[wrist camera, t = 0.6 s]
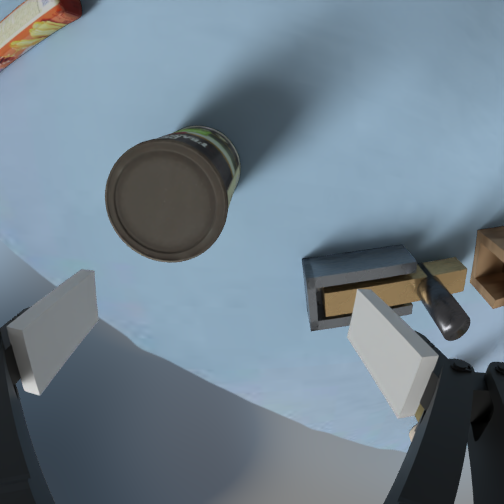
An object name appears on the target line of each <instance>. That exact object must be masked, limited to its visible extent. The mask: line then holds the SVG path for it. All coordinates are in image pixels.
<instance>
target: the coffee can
mask: <svg viewBox="0 0 504 504" xmlns="http://www.w3.org/2000/svg"><path fill="white" fill-rule="evenodd" d="M239 177H240V160H239V156H238V153H237V151H236V149H235V147H234V145H233V144H232V142H231V141H230V140H229V139H228V138H227V137H226V136H225V135H224V134H222V133H221V132H219V131H217V130H215V129H212V128H209V127H205V126H190V127H186V128H183V129H181V130H179V131H177V132H174V133H171V134H168V135H165V136H162V137H159V138H157V139H152V140H148V141H145V142H142V143H139V144H137V145H135V146H134V147H132V148H130V149H129V150H127V151H126V152H125V153H124V154H123V155H122V156H121V157H120V158H119V159H118V160H117V162H116V163H115V164H114V166H113V168H112V170H111V172H110V174H109V177H108V180H107V184H106V190H105V203H106V210H107V213H108V217H109V219H110V222H111V224H112V226H113V228H114V230H115V231H116V233H117V234H118V236H119V237H120V238H121V239H122V241H123V242H124V243H126V244H127V245H128V246H129V247H130V248H131V249H132V250H134V251H135V252H137V253H139V254H141V255H142V256H145V257H147V258H149V259H152V260H156V261H161V262H182V261H186V260H189V259H192V258H195V257H197V256H199V255H200V254H202V253H204V252H205V251H206V250H207V249H209V248H210V247H211V246H212V245H213V243H214V242H215V241H216V240H217V238H218V237H219V235H220V234H221V232H222V230H223V227H224V225H225V222H226V218H227V213H228V207H229V204H230V201H231V198H232V195H233V193H234V190H235V188H236V186H237V184H238V181H239Z"/></svg>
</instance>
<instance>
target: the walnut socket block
mask: <svg viewBox="0 0 504 504" xmlns="http://www.w3.org/2000/svg"><path fill="white" fill-rule="evenodd" d="M470 283H471V284H472V285H473V286H474V287H475V289H476V290H477V291H478V292H479V293H480V294H481V295H482V297H483V298H484V299H485V300H486V301H487V302H488V304H489V305H490V306H491V307H492V308H493V309H494V308H498V307H501V306H504V226H501V227H494V228H488V229H481V230H478V231H477V240H476V247H475V255H474V261H473V267H472V273H471V279H470Z"/></svg>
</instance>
